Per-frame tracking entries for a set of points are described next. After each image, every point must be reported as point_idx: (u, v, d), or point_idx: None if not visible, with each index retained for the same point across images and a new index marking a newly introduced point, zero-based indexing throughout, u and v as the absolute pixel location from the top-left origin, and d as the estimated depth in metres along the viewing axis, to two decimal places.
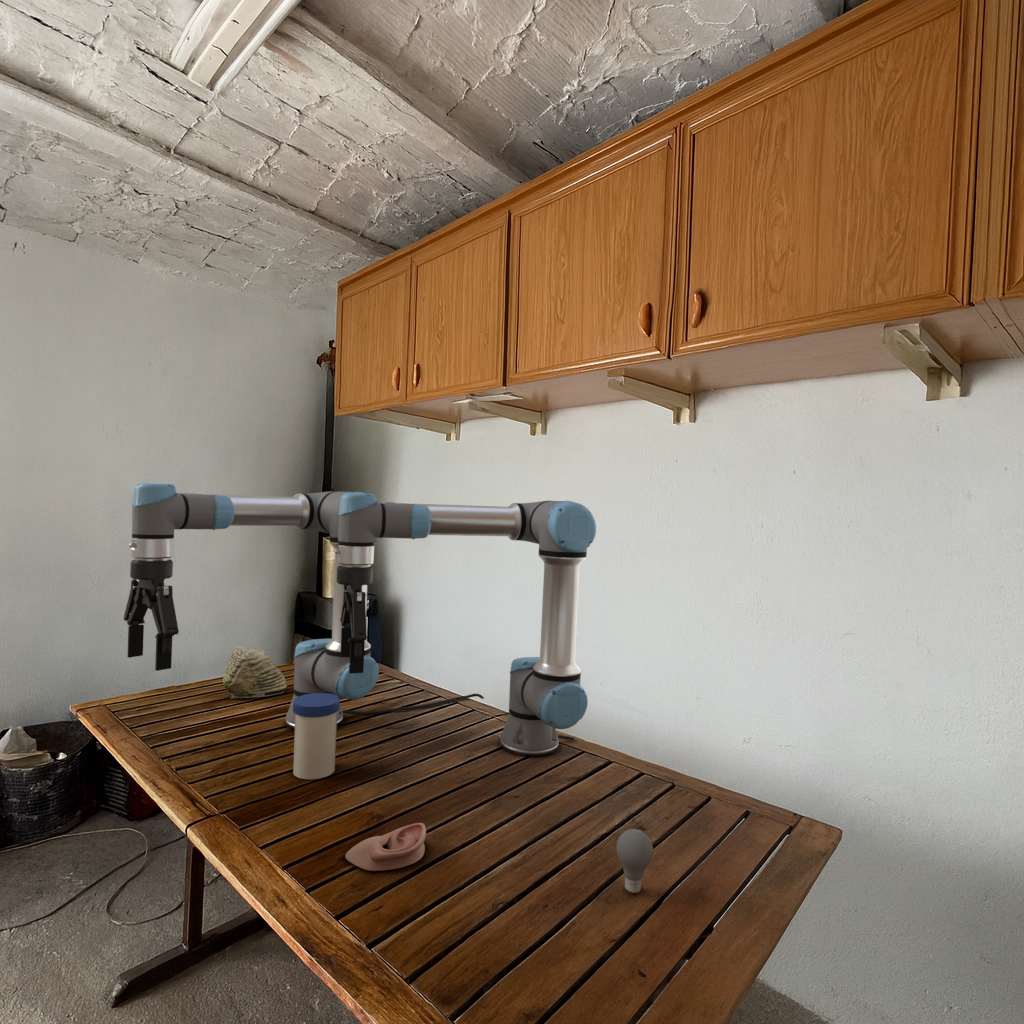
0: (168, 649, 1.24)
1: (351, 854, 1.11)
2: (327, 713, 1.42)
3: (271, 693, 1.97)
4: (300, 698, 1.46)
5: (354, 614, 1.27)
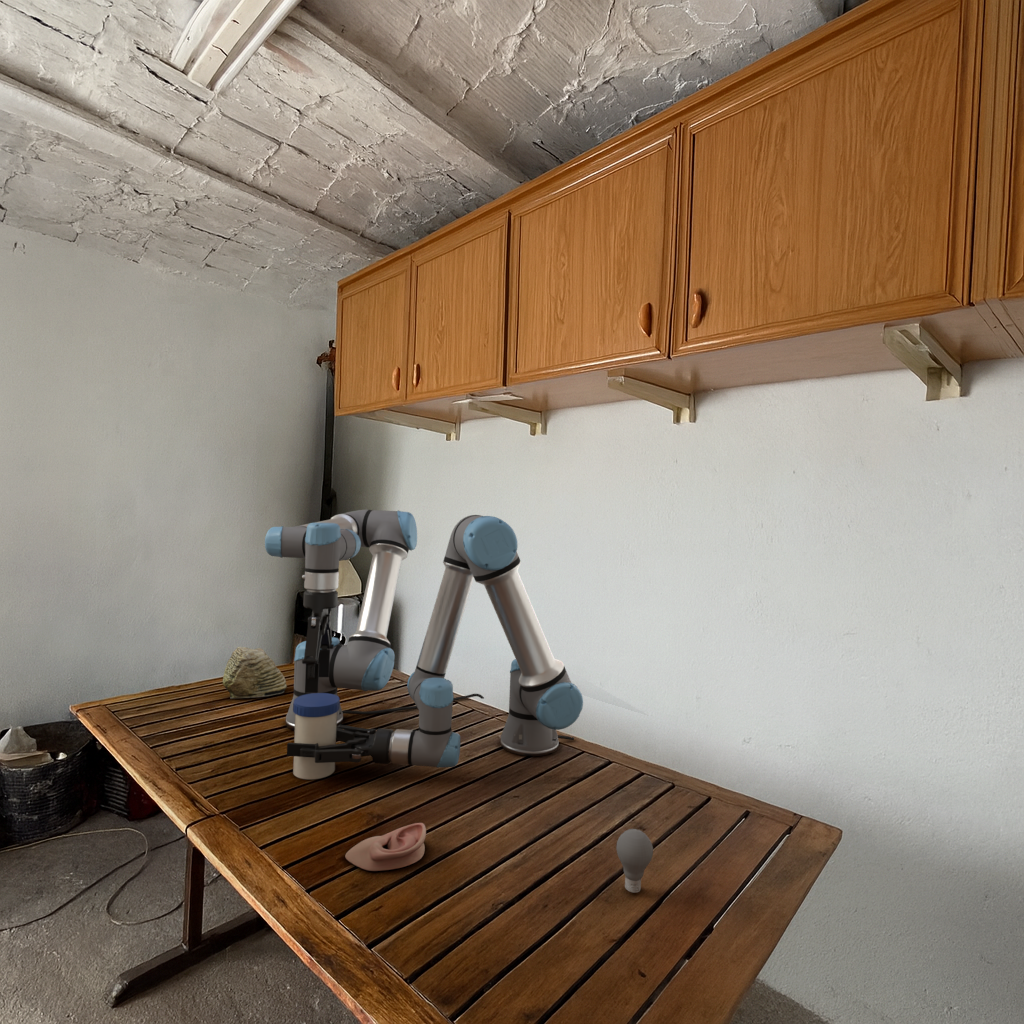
0: (311, 675, 1.38)
1: (351, 854, 1.11)
2: (327, 713, 1.42)
3: (271, 693, 1.97)
4: (300, 698, 1.46)
5: None
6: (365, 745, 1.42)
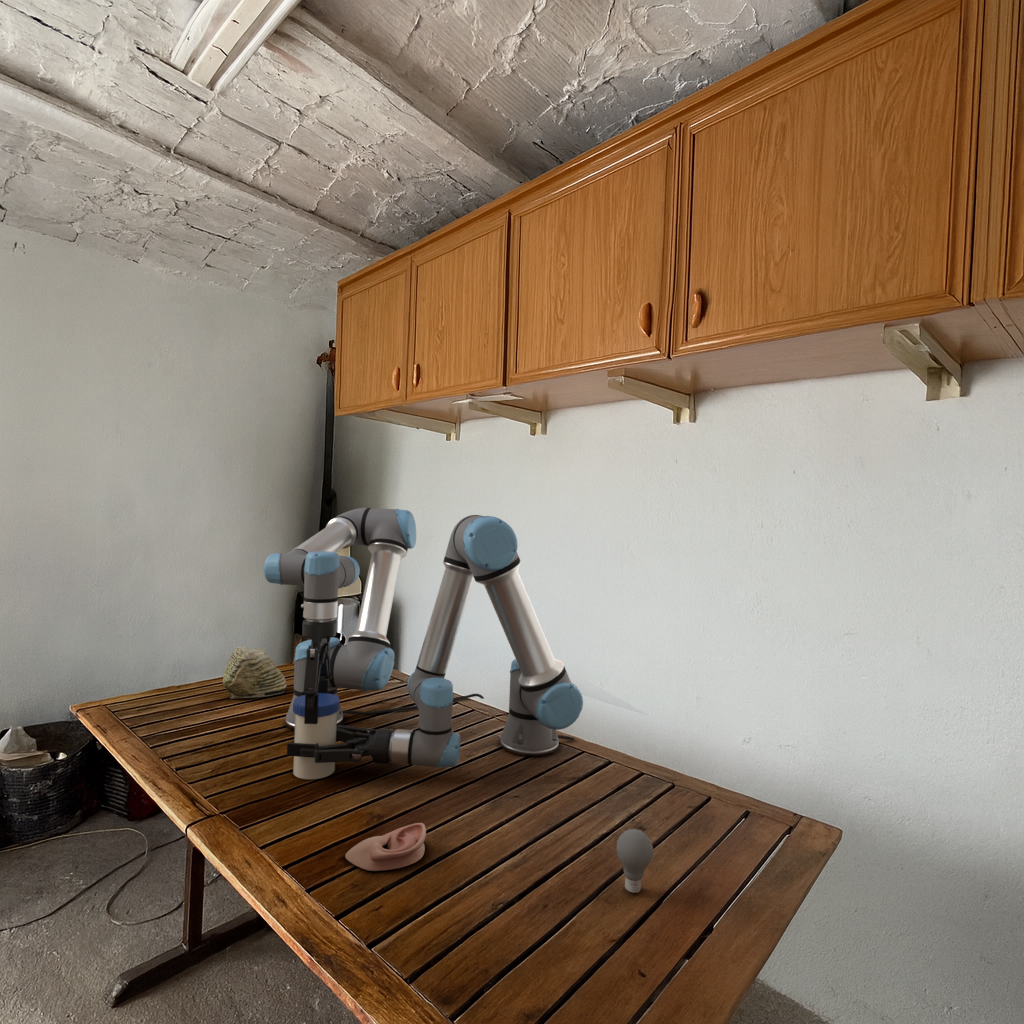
0: (311, 706, 1.39)
1: (351, 854, 1.11)
2: (327, 713, 1.42)
3: (271, 693, 1.97)
4: (300, 698, 1.46)
5: None
6: (365, 745, 1.42)
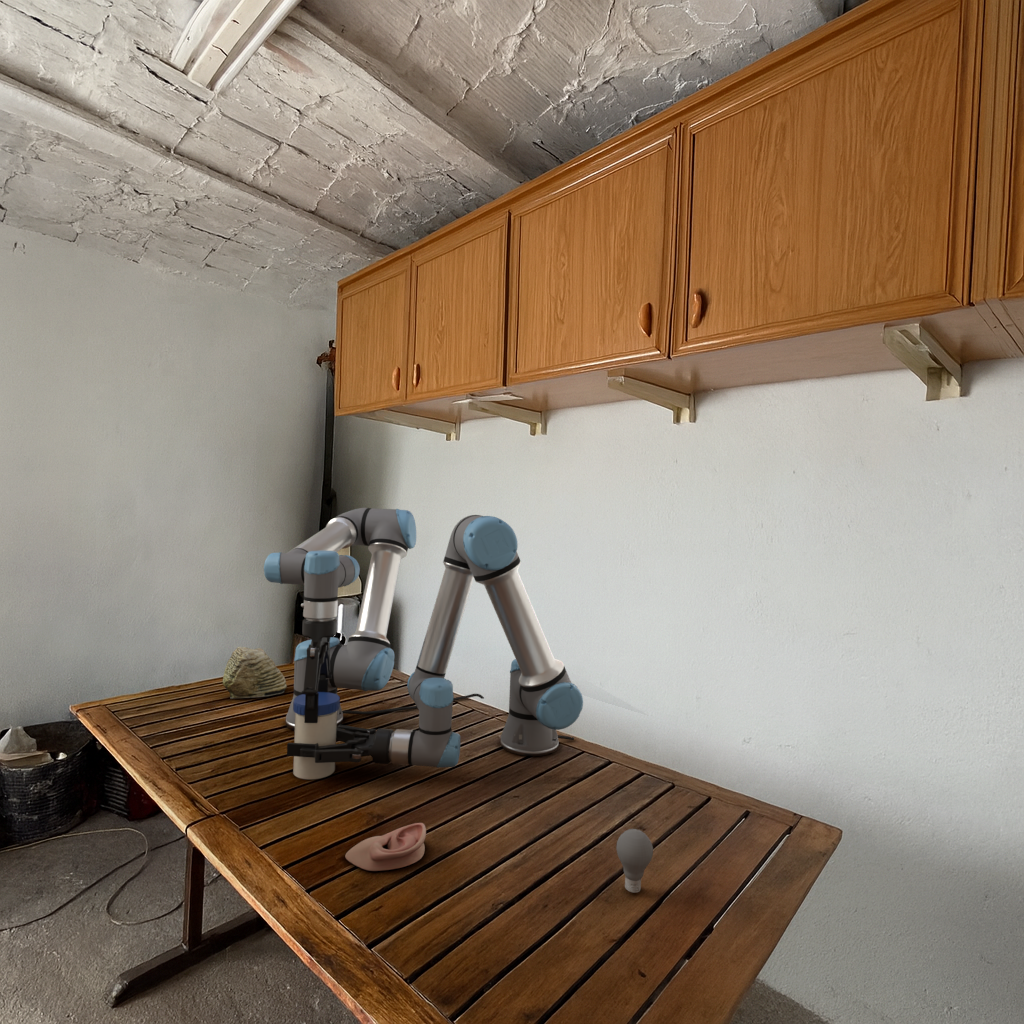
0: (311, 706, 1.39)
1: (351, 854, 1.11)
2: None
3: (271, 693, 1.97)
4: (304, 703, 1.42)
5: None
6: (365, 745, 1.42)
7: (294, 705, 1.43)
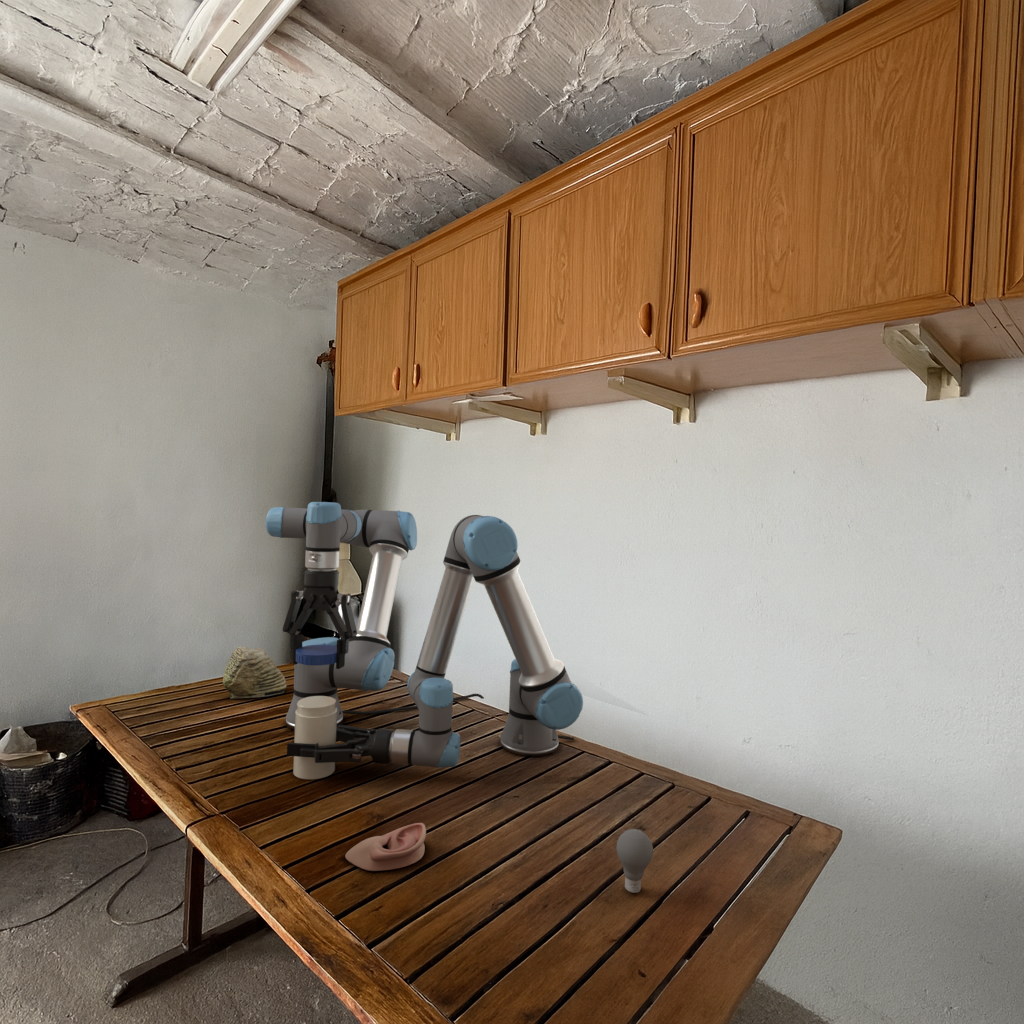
0: (347, 649, 1.45)
1: (351, 854, 1.11)
2: None
3: (271, 693, 1.97)
4: (328, 652, 1.43)
5: None
6: (365, 745, 1.42)
7: (319, 659, 1.41)
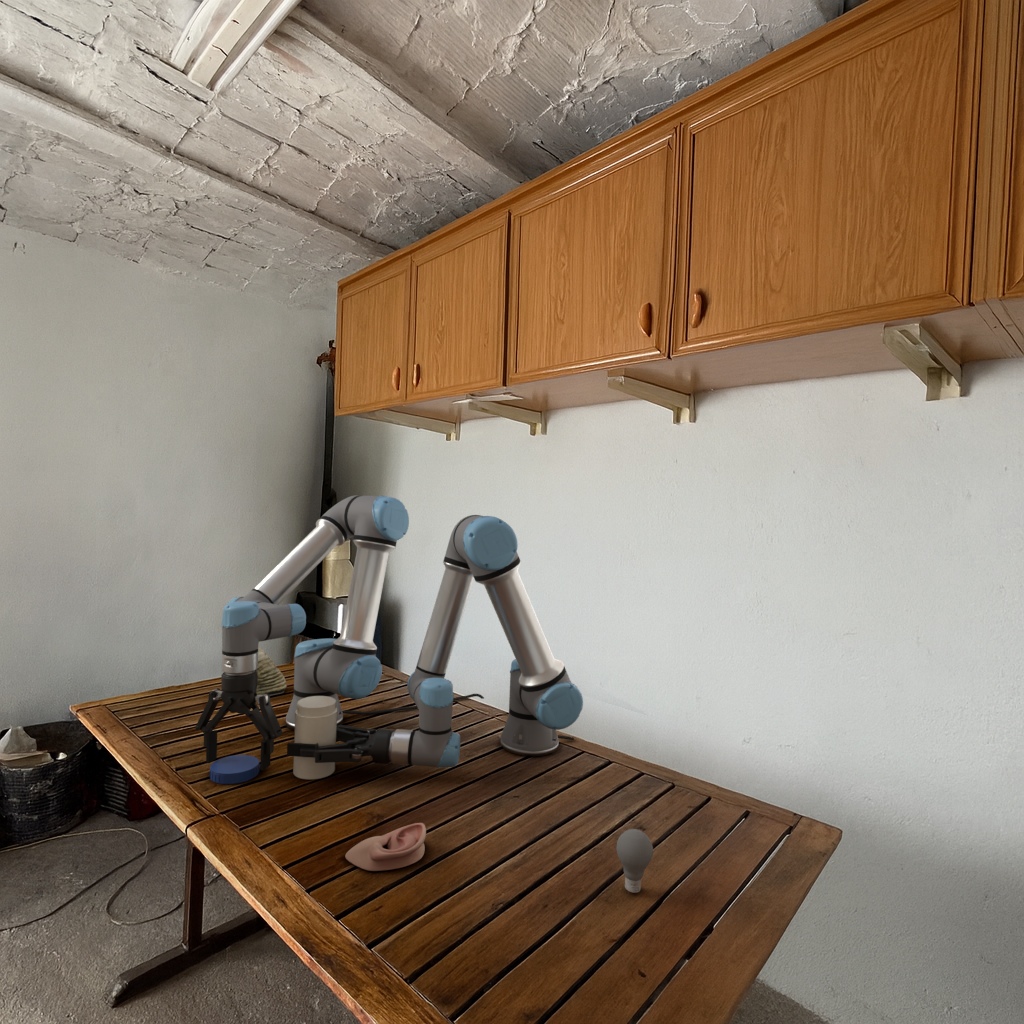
0: (272, 749, 1.42)
1: (351, 854, 1.11)
2: None
3: (271, 693, 1.97)
4: (243, 769, 1.40)
5: None
6: (365, 745, 1.42)
7: (232, 777, 1.38)
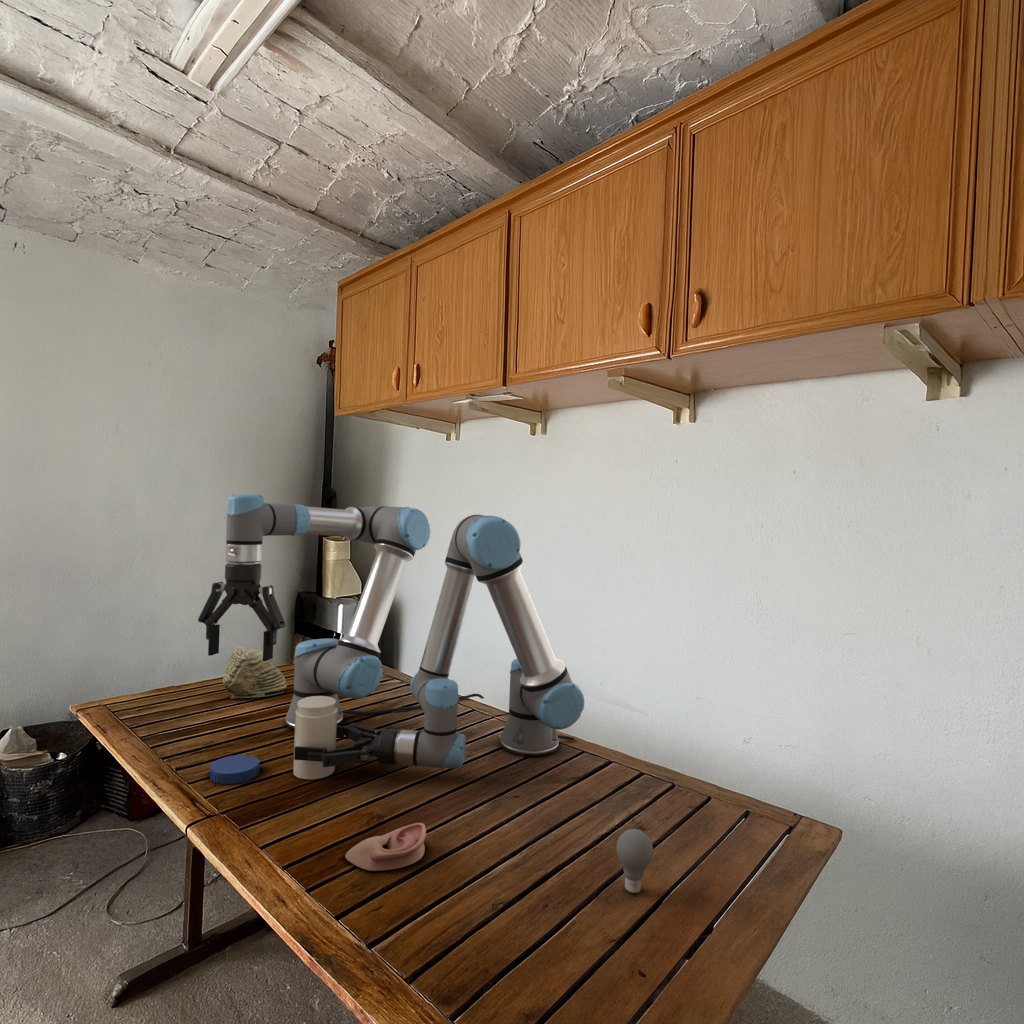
0: (275, 641, 1.41)
1: (351, 854, 1.11)
2: None
3: (271, 693, 1.97)
4: (243, 769, 1.40)
5: None
6: (370, 745, 1.42)
7: (232, 777, 1.38)
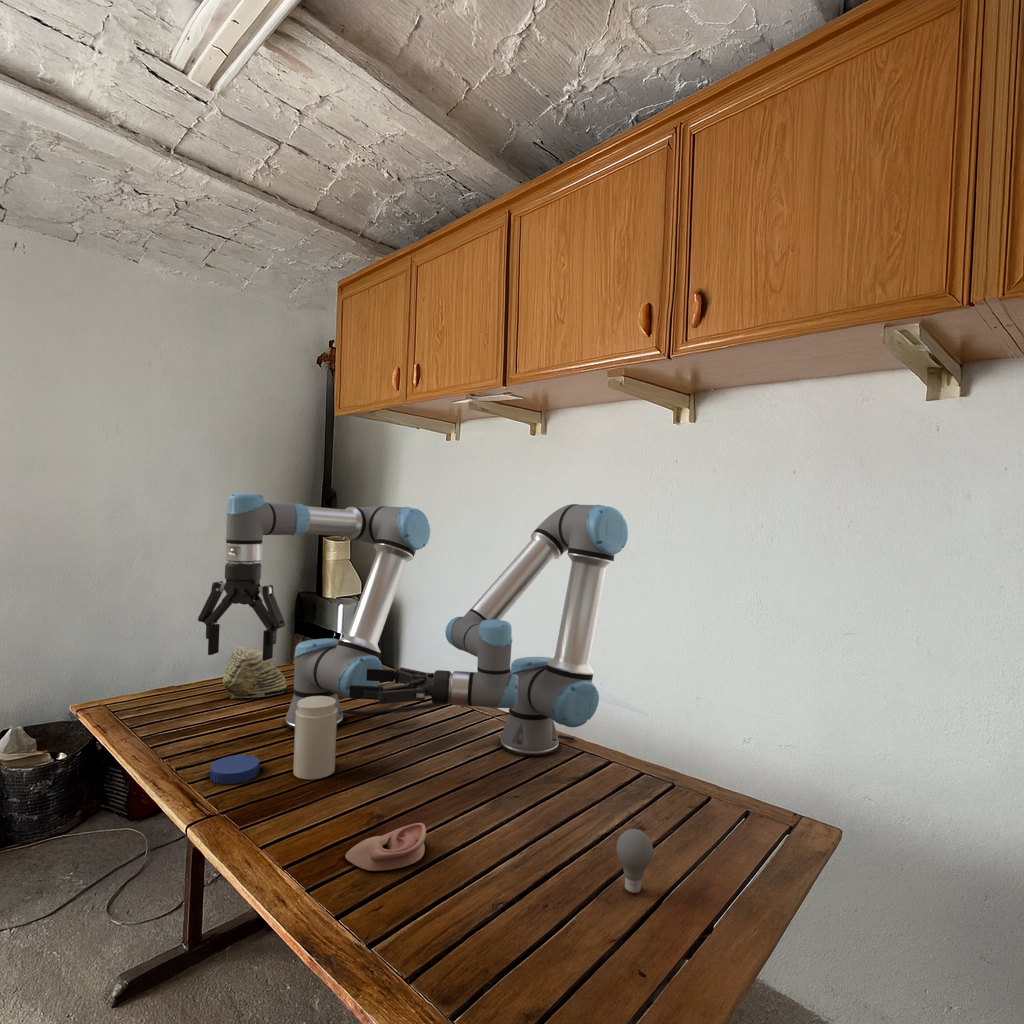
0: (274, 640, 1.41)
1: (351, 854, 1.11)
2: None
3: (271, 693, 1.97)
4: (243, 769, 1.40)
5: None
6: (424, 685, 1.42)
7: (232, 777, 1.38)
